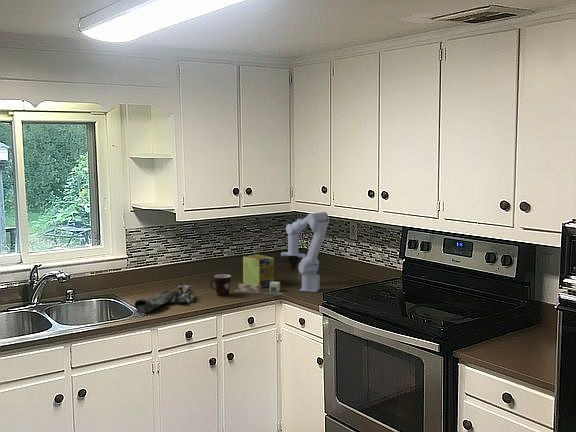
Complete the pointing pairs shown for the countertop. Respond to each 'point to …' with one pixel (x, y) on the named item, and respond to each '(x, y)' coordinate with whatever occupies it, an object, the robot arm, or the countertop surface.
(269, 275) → the protein box
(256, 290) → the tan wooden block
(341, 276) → the countertop surface
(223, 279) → the coffee mug
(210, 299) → the countertop surface
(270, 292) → the rail
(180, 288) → the foil
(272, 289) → the marked cube
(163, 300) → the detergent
